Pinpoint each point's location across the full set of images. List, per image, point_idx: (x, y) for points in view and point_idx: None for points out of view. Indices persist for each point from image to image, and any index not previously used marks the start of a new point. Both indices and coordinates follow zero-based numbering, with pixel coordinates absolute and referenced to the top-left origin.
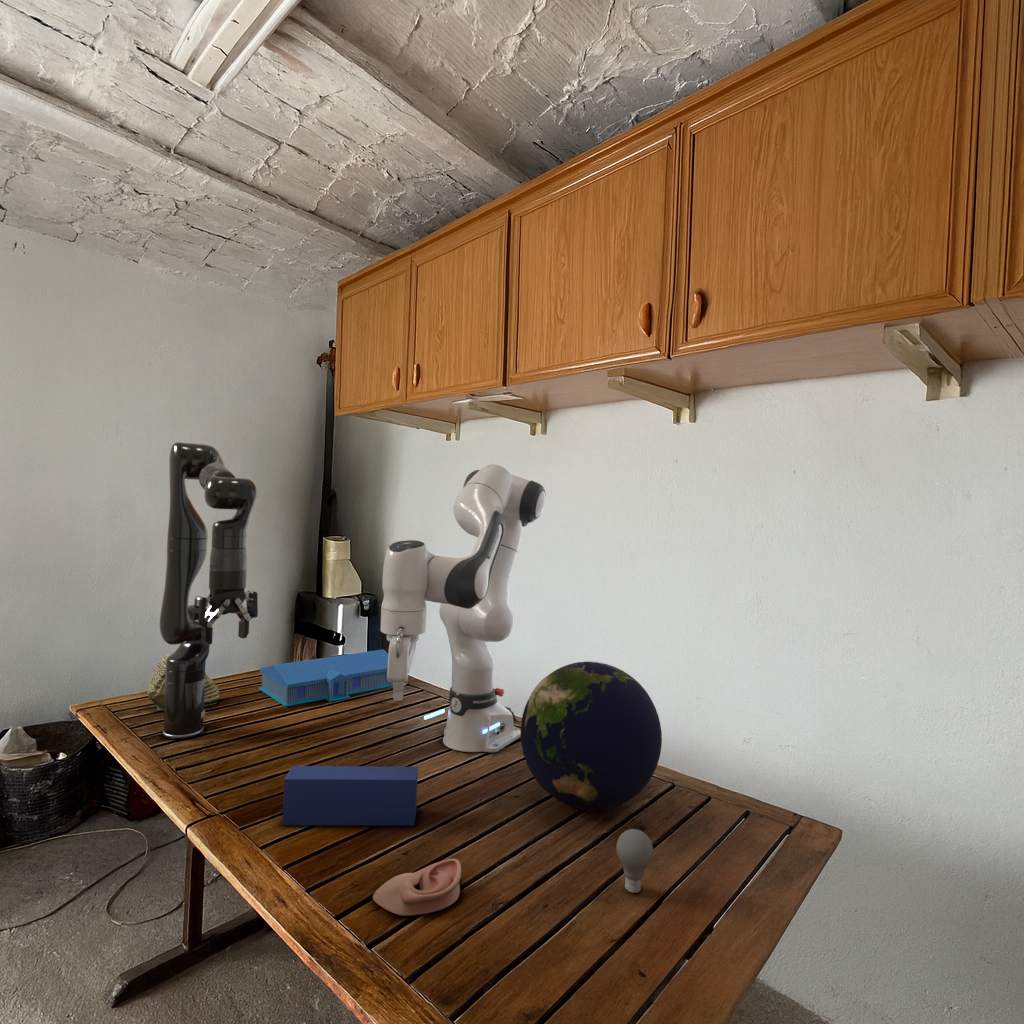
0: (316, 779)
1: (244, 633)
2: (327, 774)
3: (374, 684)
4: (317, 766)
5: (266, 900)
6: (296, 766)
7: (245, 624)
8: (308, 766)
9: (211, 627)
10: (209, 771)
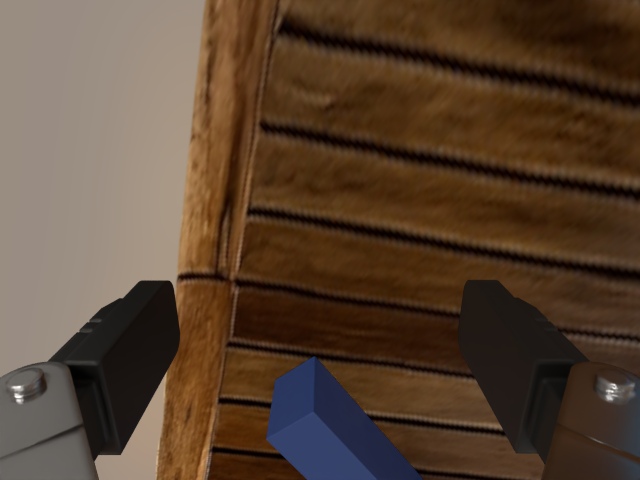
0: (301, 473)
1: (471, 368)
2: (326, 475)
3: None
4: (339, 444)
5: (163, 476)
6: (315, 419)
7: (511, 435)
8: (329, 434)
9: (105, 453)
10: (322, 104)
